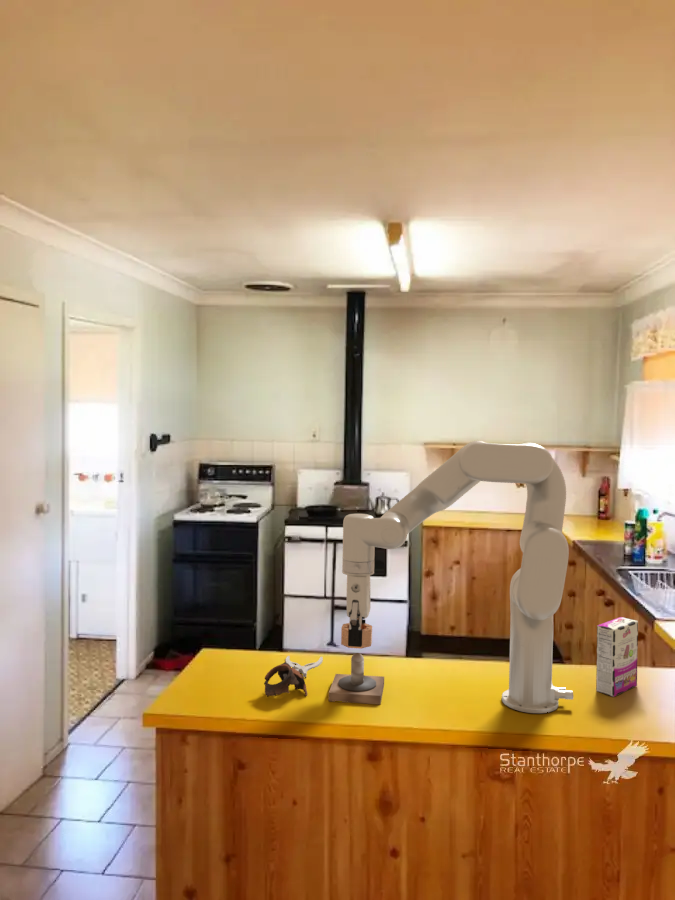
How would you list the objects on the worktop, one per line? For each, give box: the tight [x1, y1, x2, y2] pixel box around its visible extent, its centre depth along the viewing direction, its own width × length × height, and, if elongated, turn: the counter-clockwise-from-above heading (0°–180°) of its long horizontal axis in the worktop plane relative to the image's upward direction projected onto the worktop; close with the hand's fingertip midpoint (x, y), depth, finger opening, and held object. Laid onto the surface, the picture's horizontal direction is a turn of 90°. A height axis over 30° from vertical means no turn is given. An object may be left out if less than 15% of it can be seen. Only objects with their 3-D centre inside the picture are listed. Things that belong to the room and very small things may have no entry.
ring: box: [340, 622, 373, 650], centre depth 171 cm, size 7×7×4 cm
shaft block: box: [328, 652, 385, 705], centre depth 171 cm, size 12×12×10 cm
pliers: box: [285, 655, 324, 678], centre depth 188 cm, size 10×2×15 cm
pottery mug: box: [263, 661, 308, 697], centre depth 170 cm, size 12×10×8 cm
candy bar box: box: [595, 616, 639, 698], centre depth 175 cm, size 11×5×16 cm, turn 129°
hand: (356, 640), depth 171 cm, fingers closed on ring, 7 cm apart
